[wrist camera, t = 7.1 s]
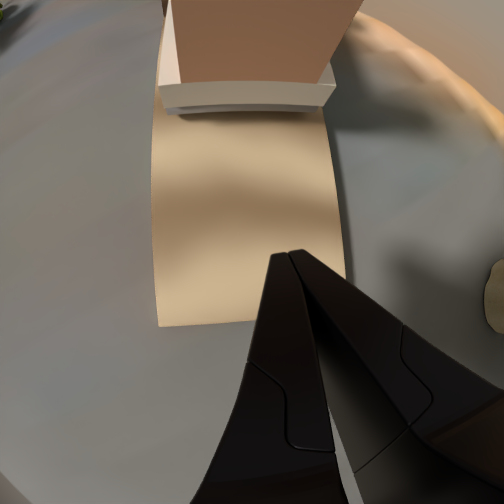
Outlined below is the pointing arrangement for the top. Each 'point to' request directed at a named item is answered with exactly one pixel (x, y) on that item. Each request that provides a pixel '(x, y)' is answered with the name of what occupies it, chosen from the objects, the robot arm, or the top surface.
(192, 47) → the brown piece
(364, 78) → the top surface
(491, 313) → the flower pot
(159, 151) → the tan cardboard slab
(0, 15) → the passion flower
